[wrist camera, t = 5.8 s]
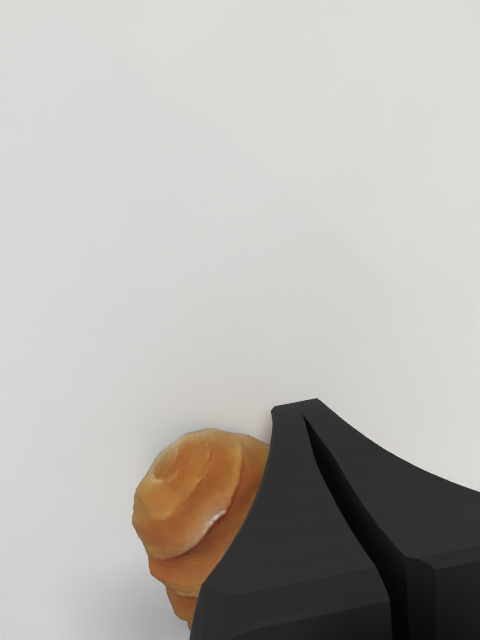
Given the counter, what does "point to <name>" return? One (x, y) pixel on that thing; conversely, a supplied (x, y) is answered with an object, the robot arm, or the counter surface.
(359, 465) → the robot arm
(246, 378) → the counter surface
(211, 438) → the pastry
